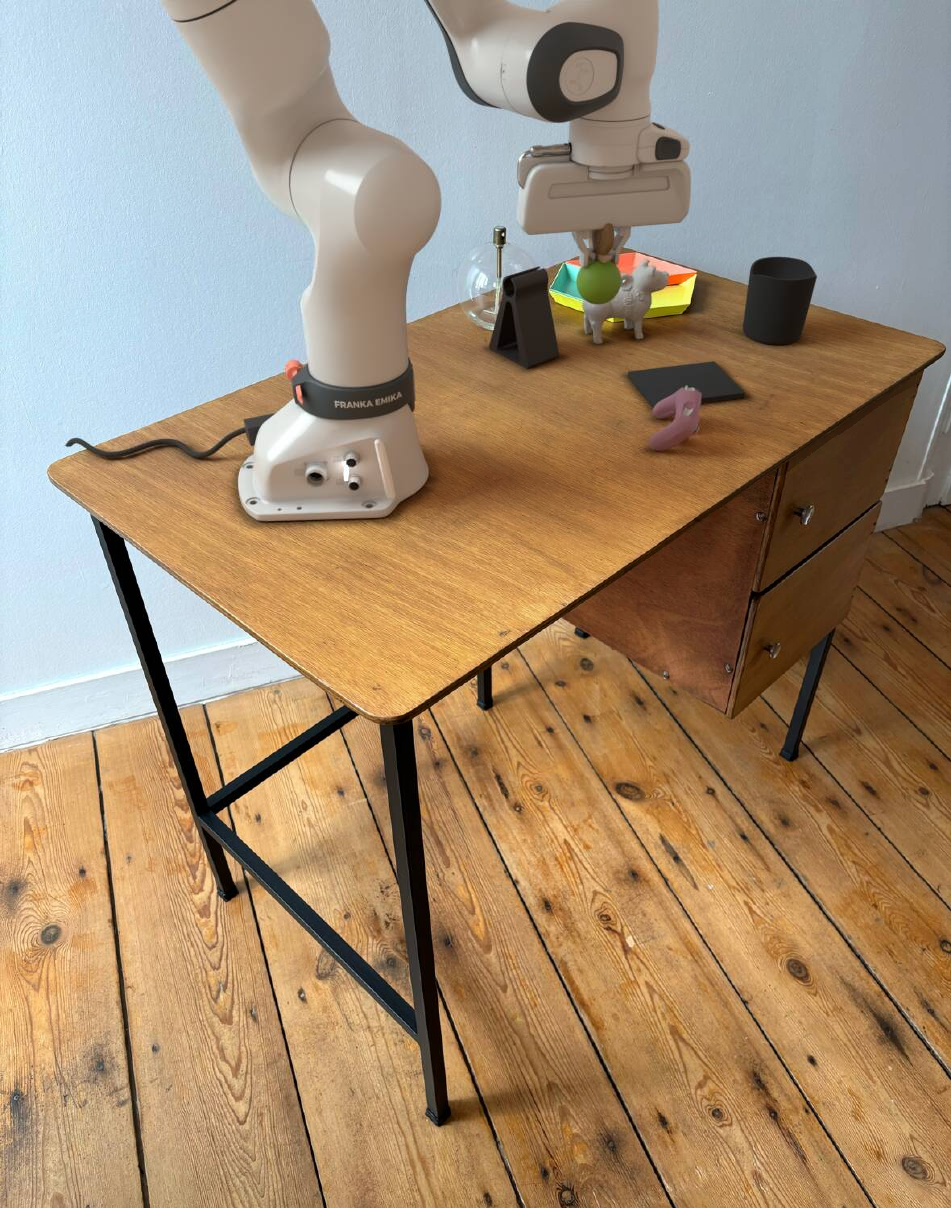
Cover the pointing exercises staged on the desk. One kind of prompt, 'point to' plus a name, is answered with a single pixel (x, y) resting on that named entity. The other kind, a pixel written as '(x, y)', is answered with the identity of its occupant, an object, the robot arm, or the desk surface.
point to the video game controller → (677, 418)
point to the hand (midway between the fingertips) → (598, 264)
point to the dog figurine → (627, 301)
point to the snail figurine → (600, 269)
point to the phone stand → (525, 320)
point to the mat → (686, 382)
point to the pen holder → (778, 299)
